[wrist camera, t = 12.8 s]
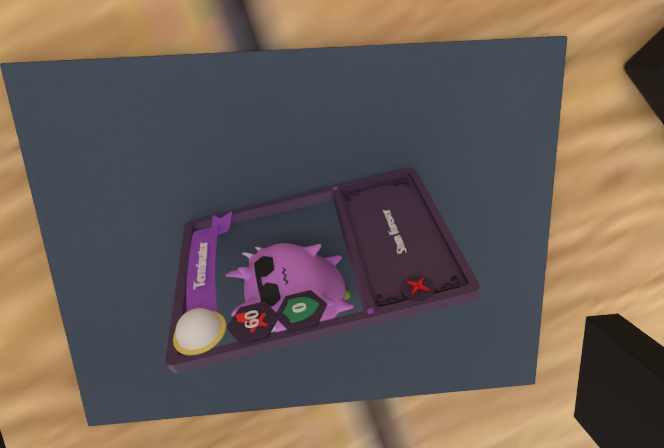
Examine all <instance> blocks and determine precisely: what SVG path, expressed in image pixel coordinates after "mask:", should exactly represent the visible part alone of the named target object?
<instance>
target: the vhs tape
mask: <svg viewBox="0 0 664 448" xmlns="http://www.w3.org/2000/svg"><path fill="white" fill-rule="evenodd" d="M625 70H626V72H627V73H628V75H629V76H630V77H631V79H632V80H633V82H634V83H635V84H636V86H637V87H638V89H639V90H640V91H641V93H642V94H643V95H644V97H645V98H646V100H647V101H648V102H649V104H650V105H651V107H652V108H653V109H654V111H655V112H656V113H657V115H658V116H659V118H660V119H661V120H662V122H663V123H664V28H663V29H662V30H661V31H660V32H659V33H658V34H657V35H656V36H655V37H654V38H653V39H651V40H650V41H649V42H648V43H647V44H646V45H645V46H644V47H643V48H642V49H641V50H640V51H639V52H638V53H637V54H635V55H634V56H633V57H632V58H631V59H630V60H629V61H628V62H627V63H626V65H625Z"/></svg>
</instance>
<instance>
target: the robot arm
mask: <svg viewBox="0 0 664 448" xmlns="http://www.w3.org/2000/svg"><path fill="white" fill-rule="evenodd" d="M574 417H575V419H576V420H577V421H578V422H579V423H580V425H581V426H582V427H583V428H584V429H585V431H586V432H587V433H588V434H589V435H590V437H591V438H592V439H593V440H594V441H595V443H596V444H597V445H598V446H599V447H600V448H664V347H663V346H662V345H660V344H659V343H657V342H656V341H655V340H653V339H652V338H651V337H649V336H648V335H647V334H645V333H644V332H642V331H641V330H640V329H638V328H637V327H636V326H634V325H633V324H632V323H630V322H629V321H628V320H626V319H625V318H623V317H622V316H621V315H619V314H608V315H598V316H588V317H586V323H585V331H584V339H583V347H582V355H581V363H580V371H579V379H578V387H577V395H576V403H575V411H574ZM0 448H6V447H5V443H4V440H3V437H2V434H1V431H0Z"/></svg>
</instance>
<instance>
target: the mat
mask: <svg viewBox="0 0 664 448" xmlns="http://www.w3.org/2000/svg"><path fill="white" fill-rule="evenodd" d="M566 45H567V36H555V37H535V38H514V39H493V40H473V41H452V42H431V43H411V44H390V45H370V46H349V47H328V48H308V49H287V50H267V51H246V52H225V53H205V54H184V55H163V56H143V57H122V58H102V59H81V60H60V61H40V62H19V63H1V64H0V66H1V70H2V74H3V78H4V82H5V86H6V90H7V94H8V98H9V103H10V107H11V111H12V115H13V119H14V123H15V127H16V131H17V135H18V139H19V144H20V148H21V152H22V156H23V160H24V164H25V168H26V172H27V176H28V180H29V185H30V189H31V193H32V197H33V201H34V205H35V209H36V213H37V217H38V221H39V226H40V230H41V234H42V238H43V242H44V246H45V250H46V254H47V258H48V262H49V267H50V271H51V275H52V279H53V283H54V287H55V291H56V295H57V299H58V303H59V308H60V312H61V316H62V320H63V324H64V328H65V332H66V336H67V340H68V344H69V349H70V353H71V357H72V361H73V365H74V369H75V373H76V377H77V381H78V385H79V390H80V394H81V398H82V402H83V406H84V410H85V414H86V418H87V422H88V426H97V425H107V424H118V423H129V422H139V421H150V420H160V419H171V418H182V417H192V416H203V415H213V414H224V413H235V412H245V411H256V410H266V409H277V408H288V407H298V406H309V405H319V404H330V403H341V402H351V401H362V400H372V399H383V398H394V397H404V396H415V395H425V394H436V393H447V392H457V391H468V390H478V389H489V388H500V387H510V386H521V385H531V384H535V377H536V366H537V356H538V345H539V334H540V324H541V313H542V302H543V291H544V281H545V270H546V259H547V249H548V238H549V227H550V216H551V206H552V195H553V184H554V173H555V163H556V152H557V141H558V131H559V120H560V109H561V98H562V88H563V77H564V66H565V56H566ZM406 168H414V169H416V171H417V173H418V175H419V176H420V178H421V180H422V182H423V184H424V185H425V187H426V189H427V191H428V193H429V194H430V196H431V198H432V200H433V202H434V203H435V205H436V207H437V209H438V210H439V212H440V214H441V216H442V218H443V219H444V221H445V223H446V225H447V227H448V228H449V230H450V232H451V234H452V236H453V237H454V239H455V241H456V243H457V245H458V246H459V248H460V250H461V252H462V254H463V255H464V257H465V259H466V261H467V263H468V264H469V266H470V268H471V270H472V272H473V273H474V275H475V277H476V279H477V280H478V282H479V284H480V297H479V298H478V299H477V300H475V301H472V302H468V303H464V304H460V305H455V306H451V307H447V308H443V309H439V310H435V311H431V312H427V313H423V314H419V315H414V316H410V317H406V318H402V319H398V320H394V321H390V322H386V323H382V324H378V325H374V326H369V327H365V328H361V329H357V330H353V331H349V332H345V333H341V334H337V335H333V336H328V337H324V338H320V339H316V340H312V341H308V342H304V343H300V344H296V345H292V346H288V347H283V348H279V349H275V350H271V351H267V352H263V353H259V354H255V355H251V356H247V357H242V358H238V359H234V360H230V361H226V362H222V363H218V364H214V365H210V366H206V367H202V368H197V369H193V370H189V371H185V372H181V373H173V372H172V371H171V370H170V368H169V366H168V365H167V363H166V353H167V346H168V339H169V332H170V325H171V318H172V311H173V304H174V296H175V289H176V282H177V275H178V268H179V261H180V254H181V247H182V240H183V233H184V226H185V224H186V223H187V222H189V221H191V220H195V219H199V218H203V217H207V216H212V215H216V214H220V213H224V212H228V211H232V210H236V209H240V208H245V207H249V206H253V205H257V204H261V203H265V202H269V201H274V200H278V199H282V198H286V197H290V196H294V195H298V194H302V193H307V192H311V191H315V190H319V189H323V188H327V187H331V186H336V185H340V184H344V183H348V182H352V181H356V180H360V179H364V178H369V177H373V176H377V175H381V174H385V173H389V172H393V171H398V170H402V169H406ZM280 243H290V244H295V245H298V246H301V247H309V246H313V245H317V244H321V248H320V250H319V251H318V252H317V255H319V256H321V257H324V258H327V257H332V256H336V255H340V256H341V257H342V259H341V260H340V261H339V262H338V263H337V264H336V268H337V269H338V271H339V272H340V274H341V275H342V277H343V280H344V283H345V289H347V290H349V292H350V298H349V299H347V300H344V301H346V302H349V303H351V304H353V305H354V307H353V308H352V309H349V310H345V311H342V312H339V313H338V314H337V315H336V316H335V317H334V318H337V317H341V316H345V315H349V314H353V313H357V312H361V311H363V308H362V304H361V300H360V297H359V293H358V289H357V286H356V282H355V278H354V275H353V271H352V267H351V264H350V260H349V256H348V253H347V249H346V245H345V242H344V238H343V234H342V231H341V227H340V223H339V220H338V216H337V212H336V209H335V205H334V202H333V201H328V202H324V203H320V204H315V205H311V206H307V207H303V208H299V209H295V210H291V211H286V212H282V213H278V214H274V215H270V216H266V217H262V218H258V219H253V220H249V221H245V222H241V223H237V224H233V225H230V227H229V230H228V231H227V232H225V233H222V234H218V236H217V245H216V262H215V288H216V303H217V313H219V314H221V315H222V316H223V317H224V319H225V321H226V327H227V326H228V324H229V323H230V321H231V320H232V318H233V316H231V313H232V311H233V310H234V309H235V308H236V307H238V306H239V305H241V304H243V303H244V302H246V300H245V296H244V281H245V279H243V278H237V277H226V276H225V275H226V274H227V273H228V272H230V271H235V270H238V268H240V267H248V268H249V258H248V257H247V256H245V255H243V254H242V253H250V254H257V252H258V250H257V249H256V248H255V247H259V248H267V247H269V246H272V245H274V244H280ZM271 333H275V331H273V332H271ZM271 333H270V334H271ZM234 342H238V341H237V340H236V339H235V338H234V337H233V336H232V334H231V333H230V332H229V331H228V330H227V328H226V331H225V334H224V336H223V338H222V339H221V340H220V342H219V343H218V344H217V345H216V346H214V347H218V346H222V345H226V344H230V343H234ZM214 347H213V348H214Z"/></svg>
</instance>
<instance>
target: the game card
mask: <svg viewBox="0 0 664 448" xmlns="http://www.w3.org/2000/svg"><path fill="white" fill-rule="evenodd" d="M328 201H333V202H334V205H335V209H336V212H337V216H338V220H339V223H340V227H341V231H342V234H343V238H344V242H345V245H346V249H347V253H348V256H349V260H350V264H351V267H352V271H353V275H354V278H355V282H356V286H357V289H358V293H359V297H360V300H361V304H362V308H363V311H361V312H357V313H353V314H349V315H345V316H341V317H337V318H334V317H335V316H336V315H337V314H338V313H339V312H342V311H345V310H349V309H352V308H353V307H354V305H353V304H351V303H349V302H346V301H344V300H347V299H349V298H350V292H349V290H347V289H345V283H344V280H343V277H342V275H341V274H340V272H339V271H338V269H337V268H336V264H337V263H338V262H339V261H340V260H341V259H342V257H341V256H340V255H336V256H332V257H327V258H324V257H321V256H319V255H317V252H318V251H319V250H320V248H321V244H317V245H313V246H309V247H301V246H298V245H295V244H290V243H280V244H274V245H272V246H269V247H267V248H259V247H255V248H256V249H257V250H258V252H257V254H250V253H242V254H243V255H245V256H247V257H248V258H249V268H248V267H240V268H238V270H235V271H230V272H228V273H227V274H226V275H225V276H226V277H237V278H243V279H245V281H244V296H245V300H246V302H244V303H243V304H241V305H239V306H238V307H236V308H235V309H234V310H233V311H232V313H231V316H233V318H232V320H231V321H230V323H229V324H228V326H227V327H226V321H225V319H224V317H223V316H222V315H221V314H219V313H217V303H216V288H215V262H216V245H217V236H218V234H222V233H225V232H227V231H228V230H229V227H230V225H233V224H237V223H241V222H245V221H249V220H253V219H258V218H262V217H266V216H270V215H274V214H278V213H282V212H286V211H291V210H295V209H299V208H303V207H307V206H311V205H315V204H320V203H324V202H328ZM479 297H480V284H479V282H478V280H477V279H476V277H475V275H474V273H473V272H472V270H471V268H470V266H469V264H468V263H467V261H466V259H465V257H464V255H463V254H462V252H461V250H460V248H459V246H458V245H457V243H456V241H455V239H454V237H453V236H452V234H451V232H450V230H449V228H448V227H447V225H446V223H445V221H444V219H443V218H442V216H441V214H440V212H439V210H438V209H437V207H436V205H435V203H434V202H433V200H432V198H431V196H430V194H429V193H428V191H427V189H426V187H425V185H424V184H423V182H422V180H421V178H420V176H419V175H418V173H417V171H416V169H414V168H406V169H402V170H398V171H393V172H389V173H385V174H381V175H377V176H373V177H369V178H364V179H360V180H356V181H352V182H348V183H344V184H340V185H336V186H331V187H327V188H323V189H319V190H315V191H311V192H307V193H302V194H298V195H294V196H290V197H286V198H282V199H278V200H274V201H269V202H265V203H261V204H257V205H253V206H249V207H245V208H240V209H236V210H232V211H228V212H224V213H220V214H216V215H212V216H207V217H203V218H199V219H195V220H191V221H189V222H187V223H186V224H185V226H184V233H183V240H182V247H181V254H180V261H179V268H178V275H177V282H176V289H175V296H174V304H173V311H172V318H171V325H170V332H169V339H168V346H167V353H166V363H167V365H168V366H169V368H170V370H171V371H172V372H173V373H181V372H185V371H189V370H193V369H197V368H202V367H206V366H210V365H214V364H218V363H222V362H226V361H230V360H234V359H238V358H242V357H247V356H251V355H255V354H259V353H263V352H267V351H271V350H275V349H279V348H283V347H288V346H292V345H296V344H300V343H304V342H308V341H312V340H316V339H320V338H324V337H328V336H333V335H337V334H341V333H345V332H349V331H353V330H357V329H361V328H365V327H369V326H374V325H378V324H382V323H386V322H390V321H394V320H398V319H402V318H406V317H410V316H414V315H419V314H423V313H427V312H431V311H435V310H439V309H443V308H447V307H451V306H455V305H460V304H464V303H468V302H472V301H475V300H477V299H478V298H479ZM226 328H227V330H228V331H229V332H230V333H231V334H232V336H233V337H234V338H235V339H236V340H237V341H238V342H234V343H230V344H226V345H222V346H218V347H214V346H216V345H217V344H218V343H219V342H220V340H221V339H222V338H223V336H224V334H225V331H226ZM273 331H275V333H271V332H273ZM270 333H271V334H270ZM213 347H214V348H213Z"/></svg>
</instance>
